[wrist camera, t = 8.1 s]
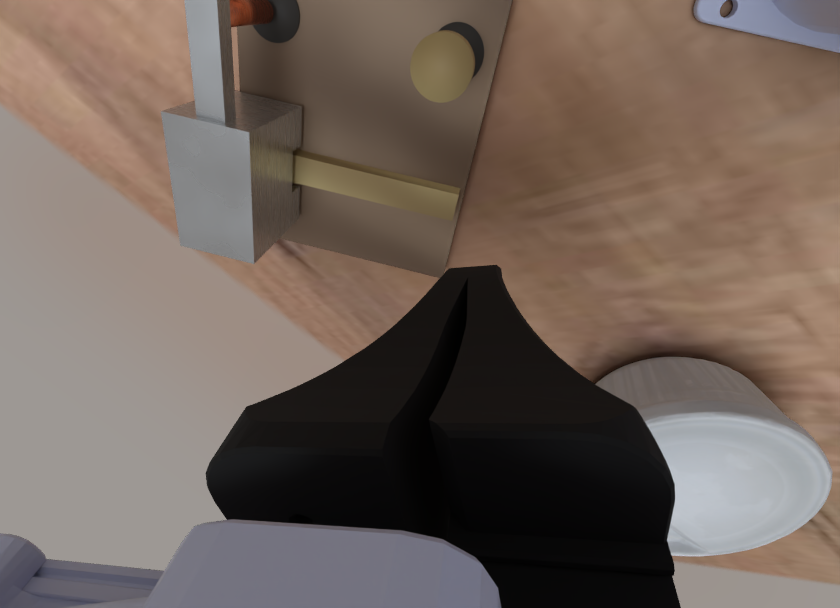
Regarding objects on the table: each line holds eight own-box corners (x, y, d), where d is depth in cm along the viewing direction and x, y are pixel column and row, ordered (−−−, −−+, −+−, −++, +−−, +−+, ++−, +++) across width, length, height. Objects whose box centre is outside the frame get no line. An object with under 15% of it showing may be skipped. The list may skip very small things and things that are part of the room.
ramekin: (537, 453, 29) (541, 531, 25) (594, 318, 23) (613, 390, 19) (712, 491, 29) (748, 578, 24) (822, 360, 22) (897, 447, 18)
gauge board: (444, 268, 23) (428, 334, 18) (256, 221, 23) (194, 275, 19) (526, -55, 15) (531, -78, 11) (244, -116, 16) (136, -164, 11)
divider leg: (299, 218, 21) (254, 263, 17) (238, 203, 21) (180, 245, 17) (305, 3, 16) (244, 4, 12) (225, -15, 16) (142, -20, 13)
